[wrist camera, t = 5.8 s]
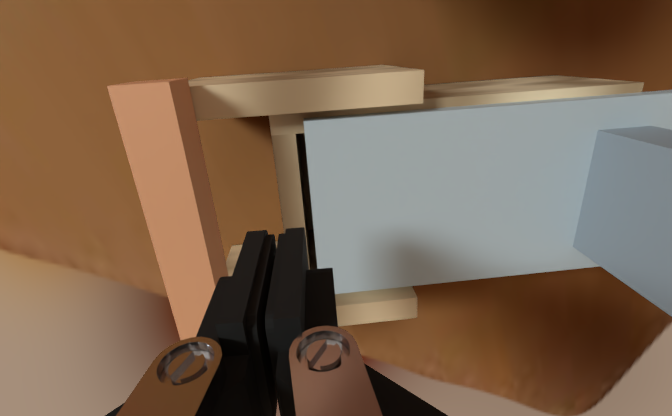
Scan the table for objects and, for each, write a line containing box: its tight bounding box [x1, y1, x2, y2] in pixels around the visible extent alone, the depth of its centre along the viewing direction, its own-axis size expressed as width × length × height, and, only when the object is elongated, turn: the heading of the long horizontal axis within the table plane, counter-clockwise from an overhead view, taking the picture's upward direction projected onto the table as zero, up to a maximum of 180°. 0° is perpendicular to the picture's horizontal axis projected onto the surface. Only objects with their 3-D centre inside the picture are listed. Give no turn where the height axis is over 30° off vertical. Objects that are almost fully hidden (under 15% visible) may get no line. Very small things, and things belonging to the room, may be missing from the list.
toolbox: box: [188, 65, 644, 326], centre depth 19 cm, size 20×11×7 cm, turn 94°
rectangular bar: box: [107, 78, 228, 340], centre depth 14 cm, size 2×12×2 cm, turn 4°
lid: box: [303, 90, 672, 317], centre depth 14 cm, size 16×8×6 cm, turn 94°
